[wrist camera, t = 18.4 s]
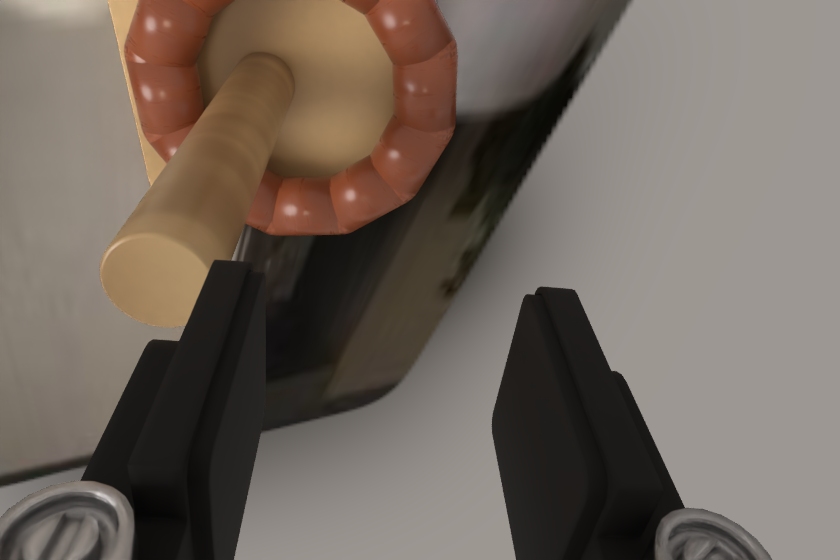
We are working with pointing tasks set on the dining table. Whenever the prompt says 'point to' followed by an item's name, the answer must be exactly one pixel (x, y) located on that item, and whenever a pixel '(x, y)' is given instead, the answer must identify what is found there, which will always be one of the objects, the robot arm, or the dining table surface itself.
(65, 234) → the dining table surface
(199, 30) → the ring
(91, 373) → the dining table surface
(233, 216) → the wooden peg stand
